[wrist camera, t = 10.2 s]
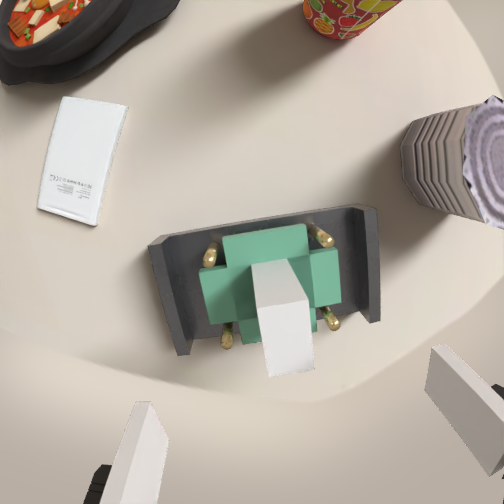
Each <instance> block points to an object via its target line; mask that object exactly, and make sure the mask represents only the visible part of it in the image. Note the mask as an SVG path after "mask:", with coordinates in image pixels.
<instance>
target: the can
mask: <svg viewBox="0 0 504 504" xmlns="http://www.w3.org/2000/svg"><path fill="white" fill-rule="evenodd" d="M400 153H401V165H402V179H403V180H404V181H405V183H406V184H407V186H408V187H409V189H410V191H411V192H412V194H413V195H414V197H415V198H416V200H417V201H418V203H419V204H421V205H424V206H427V207H430V208H433V209H436V210H439V211H441V212H445V213H449V214H453V215H457V216H461V217H465V218H468V219H472V220H476V221H479V222H483V223H485V224H486V225H490V226H494V227H497V228H500V229H504V101H503V100H502V99H500V98H498V97H496V96H494V95H492V96H491V97H490V98H488V99H487V100H486V101H485V102H484V103H481V104H476V105H471V106H467V107H462V108H457V109H453V110H449V111H444V112H440V113H436V114H433V115H429V116H426V117H423V118H420V119H417V120H415V121H412V123H411V125H410V127H409V129H408V131H407V133H406V135H405V137H404V139H403V141H402V143H401V145H400Z"/></svg>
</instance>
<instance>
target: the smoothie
mask: <svg viewBox="0 0 504 504" xmlns="http://www.w3.org/2000/svg"><path fill="white" fill-rule="evenodd" d="M401 1H402V0H304V2H303V12H304V15H305V17H306V20H307V21H308V22H309V24H310V25H311V26H312V28H313V29H314V30H315V31H317V32H318V33H320V34H321V35H323V36H326V37H328V38H333V39H351V38H354V37H356V36H359V35H360V34H361V33H362V32H363V31H364V30H366V29H367V28H368V27H369V26H370V25H372V24H373V23H374V22H375V21H377V20H378V19H379V18H380V17H382V16H383V15H384V14H385V13H387V12H388V11H389V10H390V9H392V8H393V7H394V6H396V5H397V4H398V3H399V2H401Z"/></svg>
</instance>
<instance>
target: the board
mask: <svg viewBox="0 0 504 504" xmlns="http://www.w3.org/2000/svg"><path fill="white" fill-rule="evenodd" d="M222 241H223V247H224V252H225V257H226V263H227V264H226V265H220V266H214V267H212V268H201V269H200V271H199V277H200V281H201V286H202V290H203V295H204V299H205V304H206V308H207V312H208V316H209V321H210V325H213V324H221V323H227V322H234V321H238V324H239V329H240V334H241V339H242V343H243V344H249V343H255V342H262V343H263V349H264V354H265V360H266V366H267V372H268V377H274V376H280V375H286V374H292V373H297V372H302V371H307V370H312V369H315V367H314V354H313V342H312V332H317V324H316V312H315V308H316V307H321V306H326V305H332V304H337V303H341V288H340V274H339V262H338V250H337V249H336V248H335V247H331V248H322V249H316V250H310V251H309V245H308V237H307V229H306V225H305V224H303V223H302V224H296V225H290V226H283V227H277V228H271V229H265V230H259V231H253V232H246V233H240V234H234V235H229V236H223V238H222Z"/></svg>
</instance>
